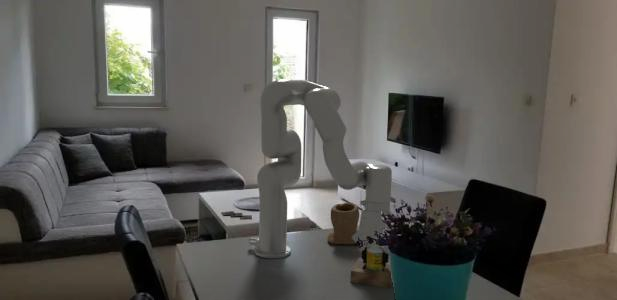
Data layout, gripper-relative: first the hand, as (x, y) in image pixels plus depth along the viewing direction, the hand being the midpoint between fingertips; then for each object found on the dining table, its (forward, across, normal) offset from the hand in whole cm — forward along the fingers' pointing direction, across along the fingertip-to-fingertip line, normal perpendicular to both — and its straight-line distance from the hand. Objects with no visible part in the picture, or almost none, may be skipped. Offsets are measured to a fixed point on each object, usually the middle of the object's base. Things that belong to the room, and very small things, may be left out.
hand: (374, 262), depth 154 cm
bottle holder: (+5, 0, 0) cm, 5 cm away
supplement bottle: (+3, 0, 0) cm, 3 cm away
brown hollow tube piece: (+5, -15, +28) cm, 32 cm away
